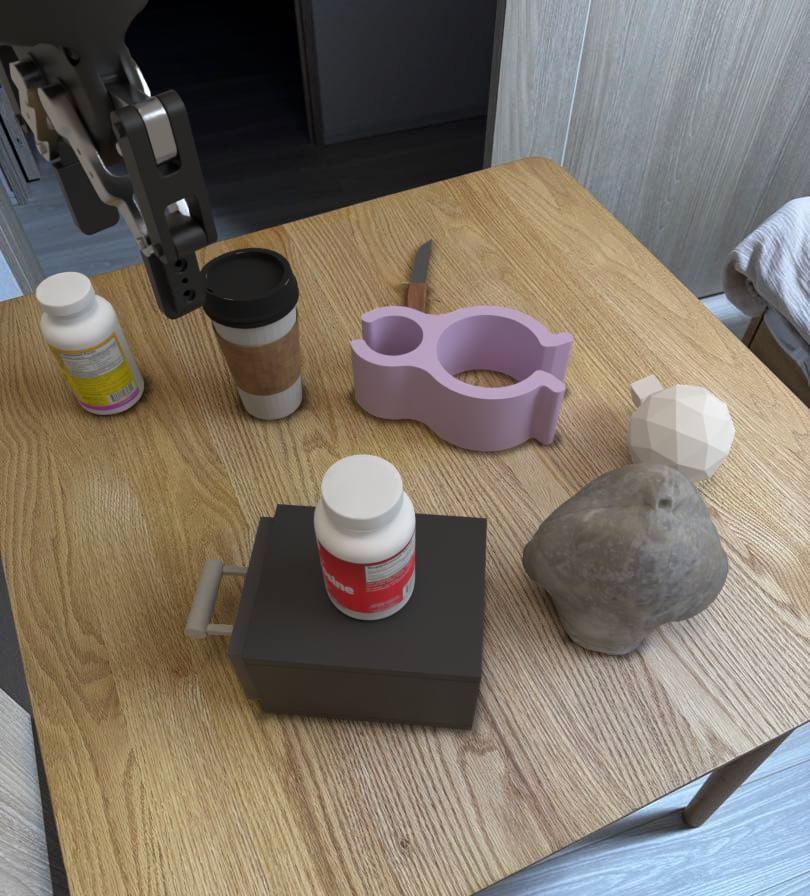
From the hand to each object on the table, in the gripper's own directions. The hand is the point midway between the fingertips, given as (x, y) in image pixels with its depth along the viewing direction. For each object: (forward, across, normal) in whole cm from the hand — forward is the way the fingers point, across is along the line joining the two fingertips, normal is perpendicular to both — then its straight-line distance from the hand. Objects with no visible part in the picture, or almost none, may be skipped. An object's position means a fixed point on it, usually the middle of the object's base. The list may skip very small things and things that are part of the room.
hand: (140, 266), depth 38 cm
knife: (+31, +19, -36) cm, 51 cm away
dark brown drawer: (+29, -10, -2) cm, 31 cm away
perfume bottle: (+30, -15, -38) cm, 50 cm away
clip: (+31, +3, -28) cm, 41 cm away
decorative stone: (+30, -22, -22) cm, 43 cm away
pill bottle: (+21, -12, -4) cm, 25 cm away
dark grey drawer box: (+30, -12, -4) cm, 33 cm away
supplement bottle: (+31, +26, -2) cm, 41 cm away
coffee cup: (+31, +15, -14) cm, 37 cm away
